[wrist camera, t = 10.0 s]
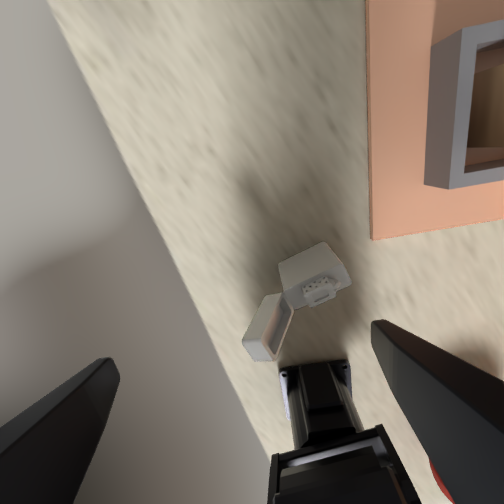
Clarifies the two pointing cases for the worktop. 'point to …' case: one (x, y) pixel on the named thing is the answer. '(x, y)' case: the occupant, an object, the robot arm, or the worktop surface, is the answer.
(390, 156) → the block holder
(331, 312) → the worktop surface
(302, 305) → the lighter
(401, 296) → the worktop surface
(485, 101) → the wooden block
